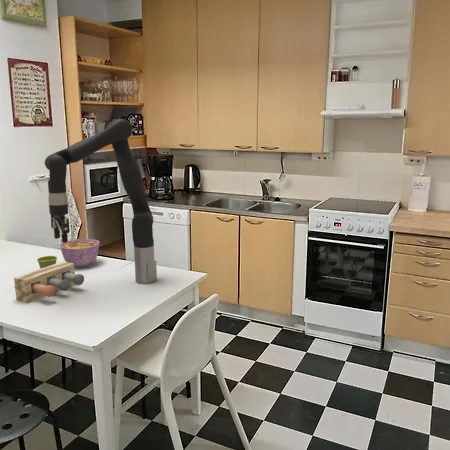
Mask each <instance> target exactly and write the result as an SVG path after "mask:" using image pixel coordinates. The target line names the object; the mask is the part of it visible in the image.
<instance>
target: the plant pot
mask: <svg viewBox="0 0 450 450" xmlns="http://www.w3.org/2000/svg"><path fill="white" fill-rule="evenodd" d="M57 260H58V257H57V256H56V255H46V256H41V257H40V256H39V257H38V258H36V262H37V264H39V269H42V268H45V267H48V266H51V265H54V264H57Z"/></svg>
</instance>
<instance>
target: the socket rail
mask: <svg viewBox="0 0 450 450" xmlns="http://www.w3.org/2000/svg"><path fill="white" fill-rule="evenodd" d="M75 271H76V270H75V266H74V263H69V262H66V261H65V260H63V261H60V262H56V264H54V265H51V266H48V267H45V268H42V269H40V268H39V269H36V270H33V271H30V272H27V273H24V274H20V275H17V276H15V277H13V280H14V290H15V298H16V301H18V300H19V301H20V302H22V303H26V304H28V303H31V302H34V301H37V300H39V299H41V298H45V297H46V296H45V295H44V294H42V293H38V292H34V291H32V289H31V284H32V283H38V284H42V285H46V286H47V278H49V277H52V278H56V279H60V280H62V273H63V272H67V273H71V274H76V272H75ZM69 282H70V281H69ZM75 285H76V284H75V283H74V282H70V287H72V286H75ZM59 291H62V290H61V289H60V288H57V287H55V293H56V292H57V293H58V292H59Z"/></svg>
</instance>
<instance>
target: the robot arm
mask: <svg viewBox="0 0 450 450" xmlns="http://www.w3.org/2000/svg"><path fill="white" fill-rule="evenodd" d="M132 134H133V125H132V124H131V122H130V121H129V120H126V119H124V118H117V119H114V120H112V121H110V122H109V123H108V125H107V127H106V128H105V129H104V130H102V131H100V132H98V133H96V134H94V135H92V136H89V137H86V138H84V139H82V140H79V141H77V142H75V143H74V144H72V145H69V146H68V147H66V148H64V149H61V150H58V151H56V152H55V151H54V152H53V153H52V154H49V155H48V156H47V157H45V159H44V166H45V168H46V170H48V172H49V179H48V181H47V188H48V197H47V199H48V209H49V210H48V211H49V216H50V226H51V228H52V230H53V234H54V235H53V237H54V239H55V240H56V239H60V238H61V243H65V242H68V241H69V239H68V238H69V237H68V234H69V233H70V222H69V218H66V217H65V216H66V215H68V214H69V201H68V194H67V184H66V183H67V182H66V179H67V171H68V170H67V169H68V167H67V166H68V165H70V164H74V163H78V162H80V161H82V160H84V159H86V158H88V157H89V156H91V155H92V154H95V153H96V152H98V151H100V150H102V149H104V148H105V147H108V146H110V145H111V147H112V150H113V152H114V155H115V160H116V164H117V168H118V172H119V176H120V180H121V183H122V186H123V188H124V191H125V193H126V195H127V197H128V198H129V201H130V203H131V206H132V207H131V208H132V213H133V216H132V217H133V218H132V220H131V229H132V230H131V233H132V241H133V254H134V255H133V257H134V259H133V260H134V276H135V283H138V284H151V283H154V282H156V281H157V280H158V273H157V270H158V269H157V260H155V243H154V242H155V241H154V232H153V231H154V230H153V225H154V215H153V213H152V211H151V209H150V205H149V203H148V200H147V197H146V196H147V195H146V189H145V185H144V179H143V175H142V172H141V169H140V165H139V164H138V162H137V160H136V158H135V157H134V154H133V153H132V151H131V148H130V144H129V138H130V137H131V135H132Z"/></svg>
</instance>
